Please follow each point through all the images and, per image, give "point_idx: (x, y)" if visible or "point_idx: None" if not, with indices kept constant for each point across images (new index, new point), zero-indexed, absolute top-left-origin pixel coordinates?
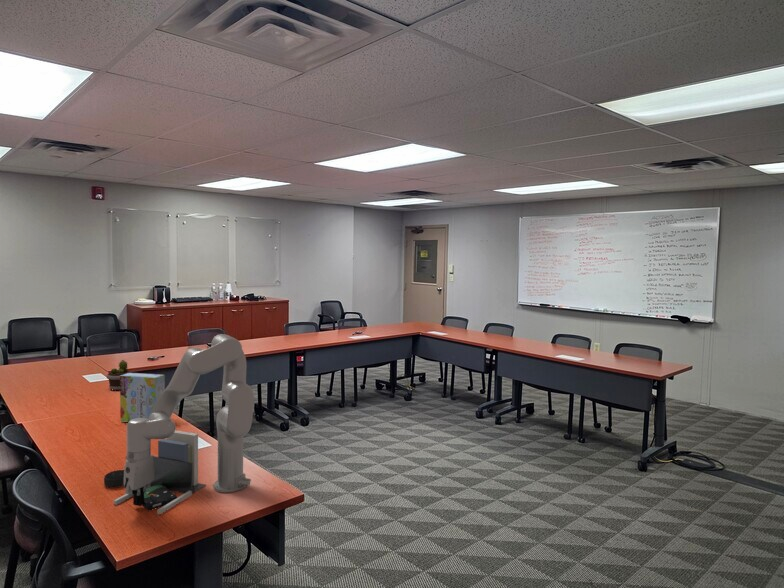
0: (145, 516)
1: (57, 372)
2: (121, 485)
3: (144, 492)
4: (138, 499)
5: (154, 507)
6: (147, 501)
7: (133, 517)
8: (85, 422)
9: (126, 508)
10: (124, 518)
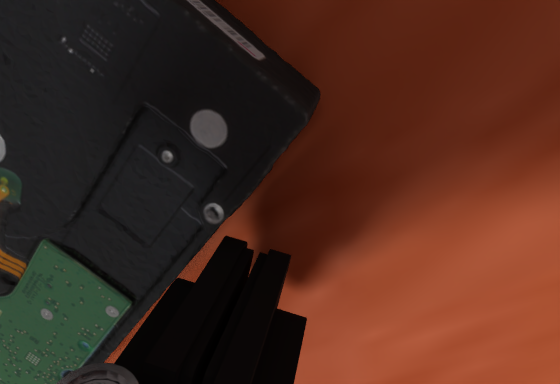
0: (507, 50)
1: None
2: None
3: (113, 370)
4: (268, 353)
5: (247, 38)
6: (168, 214)
7: (529, 216)
8: None
9: None
10: (549, 310)
